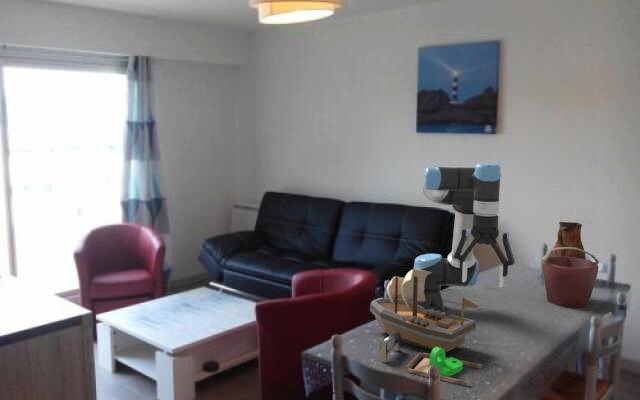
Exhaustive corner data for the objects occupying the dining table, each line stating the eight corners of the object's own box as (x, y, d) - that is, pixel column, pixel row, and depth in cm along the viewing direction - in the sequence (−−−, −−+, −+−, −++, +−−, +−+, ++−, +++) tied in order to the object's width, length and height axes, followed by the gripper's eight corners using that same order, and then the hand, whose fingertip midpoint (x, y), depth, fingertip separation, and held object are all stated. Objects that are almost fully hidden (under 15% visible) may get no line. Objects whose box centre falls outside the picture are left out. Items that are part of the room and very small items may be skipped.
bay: (404, 371, 188) (404, 367, 188) (420, 355, 201) (420, 351, 201) (468, 386, 178) (469, 381, 178) (481, 367, 191) (481, 363, 191)
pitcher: (589, 280, 295) (593, 223, 291) (573, 288, 280) (577, 228, 276) (557, 274, 307) (561, 218, 303) (539, 282, 292) (543, 224, 288)
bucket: (538, 306, 255) (541, 250, 251) (536, 292, 275) (539, 240, 272) (599, 312, 247) (603, 255, 243) (593, 297, 267) (596, 244, 264)
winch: (378, 361, 196) (378, 341, 195) (392, 348, 207) (392, 329, 206) (388, 363, 194) (389, 343, 193) (402, 350, 205) (402, 331, 204)
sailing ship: (386, 322, 233) (388, 257, 229) (489, 354, 202) (493, 279, 199) (361, 333, 221) (362, 265, 218) (466, 368, 191) (469, 289, 187)
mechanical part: (444, 379, 183) (445, 355, 181) (429, 372, 187) (430, 349, 186) (466, 368, 190) (467, 345, 189) (451, 362, 195) (452, 340, 194)
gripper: (445, 212, 179) (442, 281, 182) (523, 219, 168) (519, 292, 171) (452, 209, 185) (449, 275, 188) (527, 215, 174) (523, 285, 177)
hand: (482, 283), depth 180 cm, fingers open, 11 cm apart
